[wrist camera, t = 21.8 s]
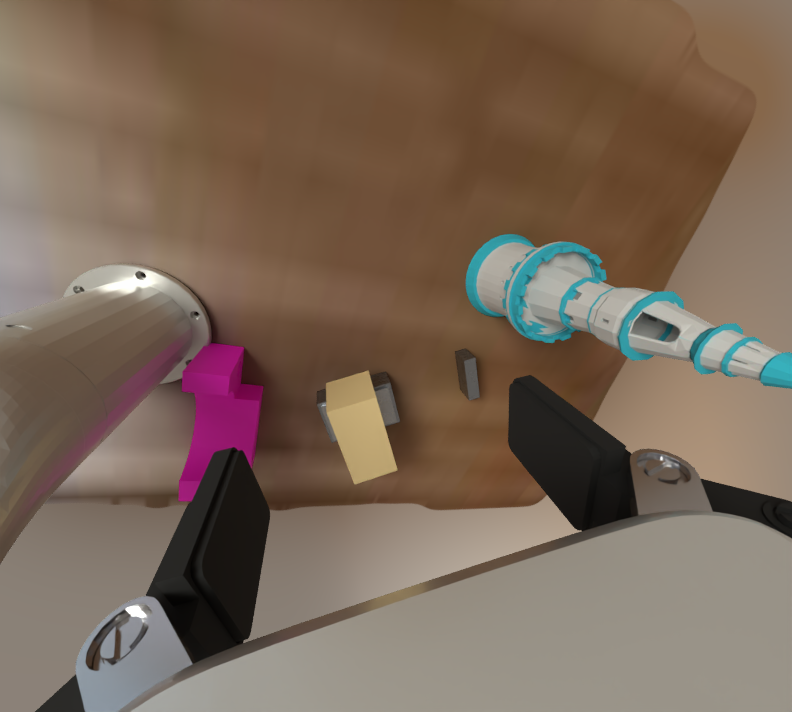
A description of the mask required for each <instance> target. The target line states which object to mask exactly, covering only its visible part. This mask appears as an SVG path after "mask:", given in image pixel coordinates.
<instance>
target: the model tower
mask: <svg viewBox="0 0 792 712" xmlns="http://www.w3.org/2000/svg"><path fill="white" fill-rule="evenodd" d="M589 251H590V249H587V248H584V247H583V246H581V245H578V244H575V243H571V242H555V243H550V244H546V245H543V247H540V248H535V247H534V245H533V244H532V243H531V242H530V241H529V240H527V239H526V238H524V237H522V236H519V235H514V234H506V235H501V236H498V237H496V238H493V239H491V240H490V241H488V242H487V243H485V244H484V245H483V246H482V247H481V248H480V249H479V250H478V251H477V253H476V254H475V256H474V257H473V259H472V261H471V263H470V265H469V267H468V271H467V275H466V290H467V295H468V297H469V300H470V302H471V303H472V305H473V306H474V307H475V308H476V309H477V310H478V311H479V312H481V313H483V314H484V315H487V316H491V317H502V316H506V318H507V319H508V321H509V323H511V324H512V326H513V327H514V328H515V329H516V330H517V331H518V332H519V333H520V334H521V335H523V336H525V337H527V338H529V339H532V340H536V341H544V342H545V343H554V341H555V340H557V339H560V340H562V341H564V340H566V339H568V338H571V333H572V332H574V331H578V332H580V331H581V330H582V331H586V332H589V333H592V334H593V335H594V336H596V337H597V338H598V339H599V340H601V341H602V342H604V343H605V344H607V345H609V346H611V347H614V348H616V349H618V350H620V351H621V352H622V353H623V354H624V355H626V356H627V357H628V358H630V359H631V360H647V359H649V358H651V357H653V356H654V355H655V356H661V357H667V358H672V359H678V360H684V361H690V362H693V363H694V368H695V369H696V370H697V371H698V372H699V373H700V374H710V373H714V372H716V371H719V372H722V373H724V374H725V375H726V376H729V377H735V376H741V377H746V378H750V379H755V380H759V381H761V383H762V384H763V385H765V386H774V387H782V388H791V389H792V353H790V352H788V353H780V352H778V351H776V350H774V349H772V348H769V347H767V346H765V345H763V343H762V342H761V341H760V340H759V339H757V338H755V337H746V336H744V335H742V334H743V330H742V329H741V328H740V327H739V326H738V325H737V324H736V323H735V324H724V325H721V326H719V327H715V326H713V325H711V324H710V323H708V322H706V321H704V320H702V319H701V318H698V317H697V316H695V315H693V314H691V313H689V312H687V311H686V310H684V305H683V300H682V299H681V298H680V297H679V296H677V295H676V294H675V293H674V292H652V291H648V290H643V289H639V288H615V287H613V286H610V285H608V284H605V283H604V282H602V281H604V280H606V272H605V270H602V269H601V268H600V266H599V264H600V263H601V262H602V261H601V260H600V258H599V257H598V256H597V255H594V254H592V253H590V252H589ZM689 353H690V355H689Z"/></svg>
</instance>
